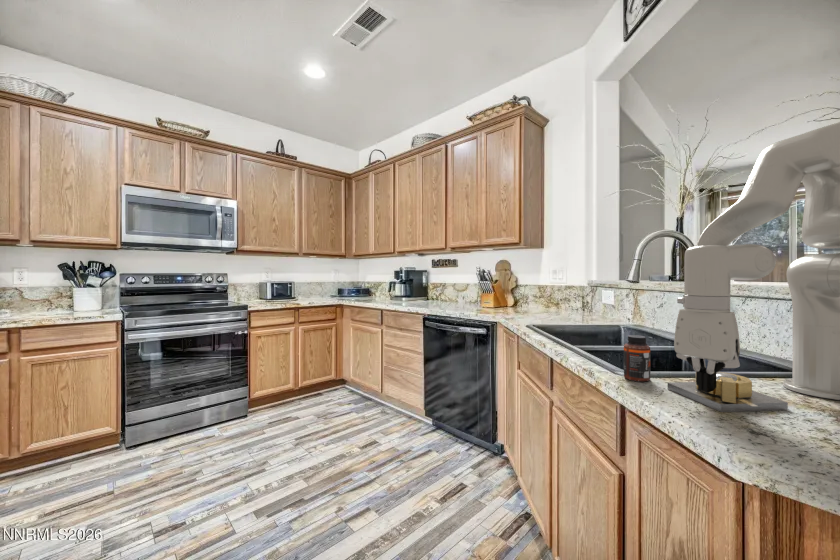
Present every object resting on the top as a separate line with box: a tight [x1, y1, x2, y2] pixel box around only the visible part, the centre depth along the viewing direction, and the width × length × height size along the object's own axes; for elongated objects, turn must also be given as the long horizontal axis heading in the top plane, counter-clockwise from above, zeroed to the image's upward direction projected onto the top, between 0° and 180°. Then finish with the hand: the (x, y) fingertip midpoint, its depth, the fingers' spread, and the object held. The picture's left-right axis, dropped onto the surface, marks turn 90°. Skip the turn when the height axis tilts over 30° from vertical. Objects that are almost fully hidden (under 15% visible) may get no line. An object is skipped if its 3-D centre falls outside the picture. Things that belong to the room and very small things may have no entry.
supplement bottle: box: [623, 334, 651, 383], centre depth 91 cm, size 6×6×11 cm
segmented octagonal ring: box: [696, 371, 753, 403], centre depth 75 cm, size 13×9×4 cm
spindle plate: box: [667, 371, 789, 413], centre depth 76 cm, size 14×16×5 cm
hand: (706, 390), depth 73 cm, fingers closed
